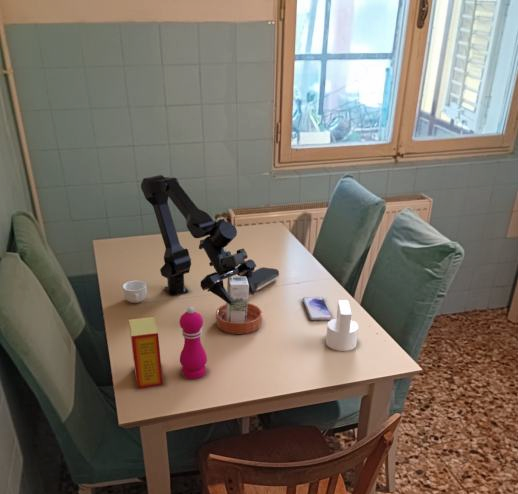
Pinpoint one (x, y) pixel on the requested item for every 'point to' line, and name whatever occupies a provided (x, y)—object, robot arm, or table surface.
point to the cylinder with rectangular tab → (342, 329)
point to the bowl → (240, 328)
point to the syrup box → (237, 299)
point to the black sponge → (263, 277)
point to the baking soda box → (146, 351)
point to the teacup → (135, 291)
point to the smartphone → (317, 308)
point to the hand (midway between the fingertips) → (242, 298)
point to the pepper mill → (192, 345)
